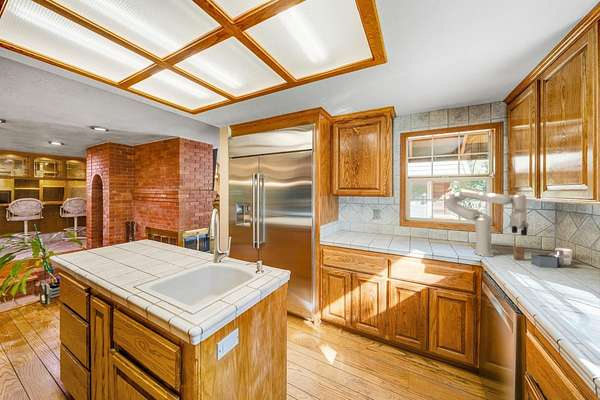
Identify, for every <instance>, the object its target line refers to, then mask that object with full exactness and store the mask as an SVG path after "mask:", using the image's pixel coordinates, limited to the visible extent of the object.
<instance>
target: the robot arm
mask: <svg viewBox="0 0 600 400" xmlns="http://www.w3.org/2000/svg"><path fill="white" fill-rule="evenodd" d="M466 199H470V200H471V199H472V200H477V201H482V202H487V203H491V204H498V205H511V214H510V227H511V233H512V234H517V233H518V228H519V227H520V228H521V229H520V235H521V236H527V235H528V229H529V227H530V224H529V223H528V220H527V219H528V218H527V196H526V195H525V194H501V193H495V192H490V191H488V190H484V189H477V188H471V187H467V186H466V187H462V188H460V190H459V191H456V192H455V193H450V194H447V195H446V196H445V197H444V200H443V201H444V206H445V207H446V209H448V211H451V212H453V214H456V215H458V216H459V217H461V218H463V219H465V220H467V221H473V222H474V223H475V225H474V226H475V251H473V255H475V254H477V255H476V256H479V255H481V257H486V258H487V257H489V258H490V257H494V255H495V254H494V253H492V232H491V231H492V230H491V229H492V228H491V226H492V225H493V222H494V220H493V218H492V217H491V216H490V215H488V214H485V213H483V212H482V211H479V210H478V209H474V208H468V207H466V206H464V205H462V204H460V202H462V201H465V200H466Z"/></svg>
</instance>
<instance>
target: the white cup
mask: <svg viewBox="0 0 600 400" xmlns="http://www.w3.org/2000/svg"><path fill="white" fill-rule="evenodd" d="M554 249H555V250H563V251H564V254H566V255H569V256H570V258H563V266H564V265H565V266H570V265H572V261H573V249H570V248H565V247H564V248H562V247H556V248H554ZM555 250H554V251H555Z"/></svg>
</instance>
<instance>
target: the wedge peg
mask: <svg viewBox="0 0 600 400" xmlns="http://www.w3.org/2000/svg"><path fill="white" fill-rule="evenodd" d="M513 260H514V261H523V262H524V261H525V247H524V246H519V245H515V246H514V245H513Z"/></svg>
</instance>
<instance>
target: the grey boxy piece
mask: <svg viewBox="0 0 600 400" xmlns="http://www.w3.org/2000/svg"><path fill="white" fill-rule="evenodd" d="M530 257H531V259H530V260H531V265H533V266H535V267H538V268H546V269H548V268H549V269H558V268H564V264H563V258H570V256H569V255H566V254H564V251H563V250H554V252H550V253H549V254H541V253H538V254H537V253H531V256H530Z"/></svg>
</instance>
